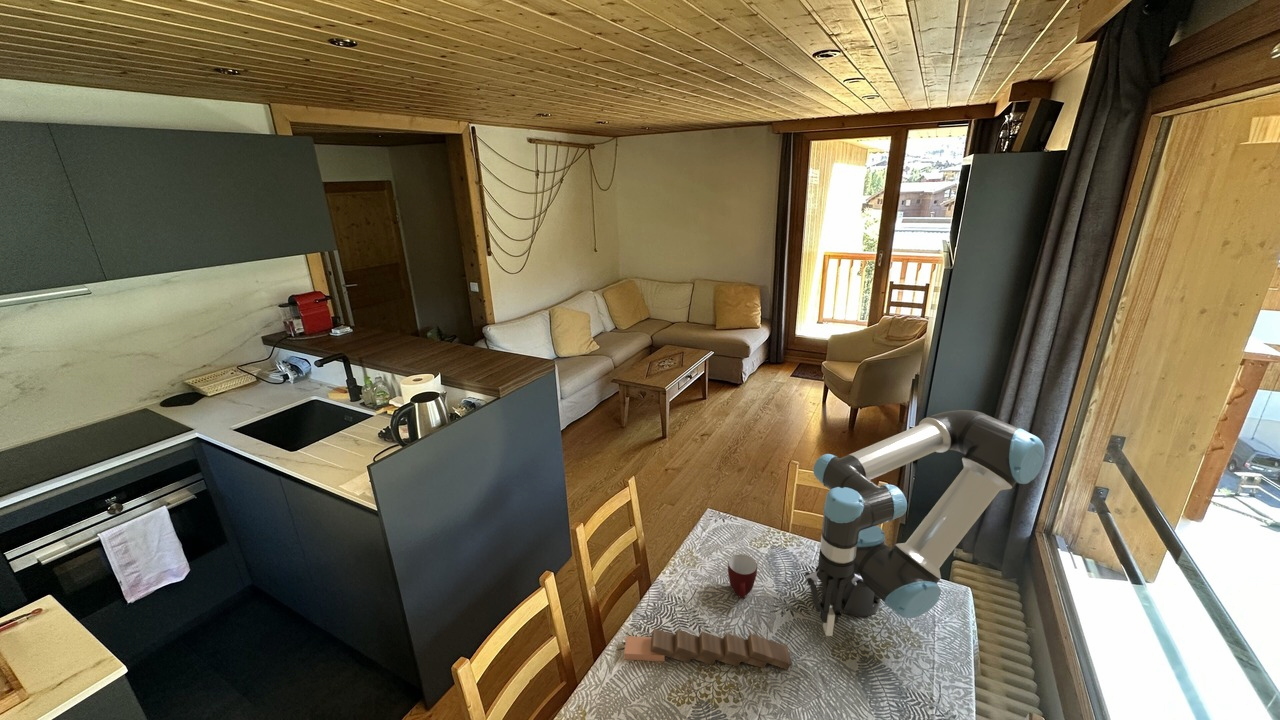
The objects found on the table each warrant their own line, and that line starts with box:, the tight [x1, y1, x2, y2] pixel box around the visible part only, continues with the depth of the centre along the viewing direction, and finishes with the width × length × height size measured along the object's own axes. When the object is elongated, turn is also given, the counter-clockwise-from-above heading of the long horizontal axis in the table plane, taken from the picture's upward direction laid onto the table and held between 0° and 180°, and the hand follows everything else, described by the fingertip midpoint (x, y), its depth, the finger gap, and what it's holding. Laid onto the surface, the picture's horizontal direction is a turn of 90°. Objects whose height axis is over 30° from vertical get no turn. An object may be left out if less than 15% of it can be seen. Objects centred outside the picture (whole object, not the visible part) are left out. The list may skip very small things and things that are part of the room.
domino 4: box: [698, 631, 741, 667], centre depth 122 cm, size 2×5×10 cm
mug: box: [727, 553, 758, 600], centre depth 140 cm, size 11×8×10 cm
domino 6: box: [746, 633, 792, 671], centre depth 121 cm, size 2×5×10 cm
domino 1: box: [623, 635, 666, 662], centre depth 124 cm, size 2×5×10 cm
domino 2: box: [651, 628, 692, 664], centre depth 123 cm, size 2×5×10 cm
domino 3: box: [674, 629, 716, 666], centre depth 123 cm, size 2×5×10 cm
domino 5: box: [722, 632, 768, 669], centre depth 122 cm, size 2×5×10 cm
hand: (827, 630), depth 119 cm, fingers closed
